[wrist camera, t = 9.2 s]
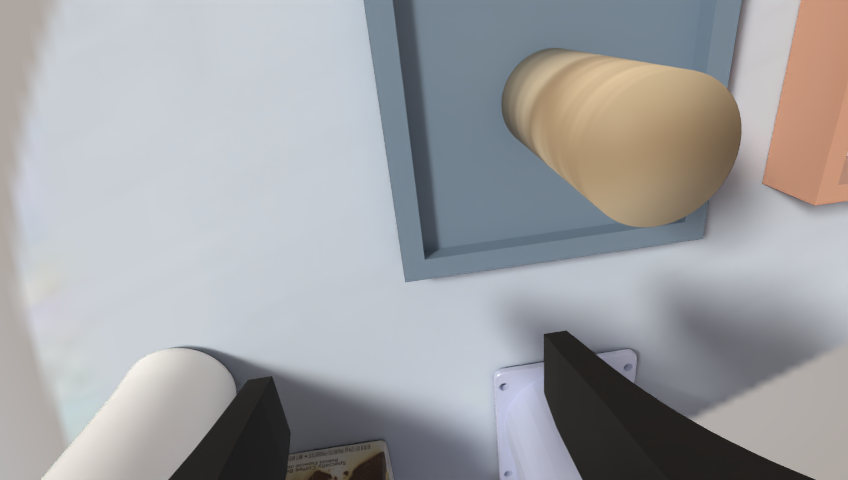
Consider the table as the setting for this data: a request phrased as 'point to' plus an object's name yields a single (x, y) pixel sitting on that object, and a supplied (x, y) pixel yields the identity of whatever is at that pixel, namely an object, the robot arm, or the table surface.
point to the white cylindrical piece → (150, 419)
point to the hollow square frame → (814, 109)
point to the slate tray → (488, 134)
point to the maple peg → (625, 131)
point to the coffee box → (342, 463)
